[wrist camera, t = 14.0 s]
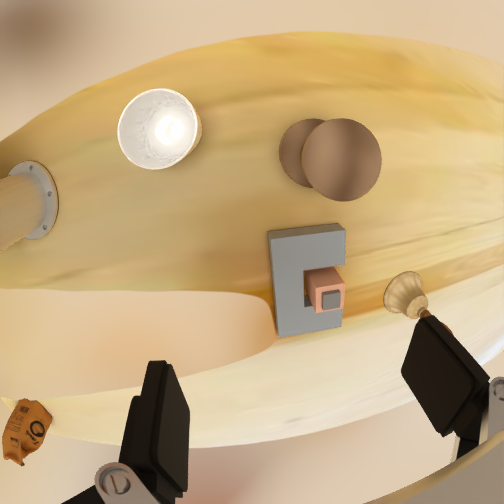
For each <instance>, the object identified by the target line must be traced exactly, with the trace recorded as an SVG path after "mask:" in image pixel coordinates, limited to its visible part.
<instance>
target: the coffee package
mask: <svg viewBox="0 0 504 504" xmlns="http://www.w3.org/2000/svg"><path fill="white" fill-rule="evenodd" d="M51 422H52V416H51V415H50V414H49V413H48V412H47V410H45V409H44V407H43V406H42V405H41V404H40V403H39V402H38V401H29V400H28V399H22V400H19V402H18V404H17V405H16V407H15V409H14V411H13V412H12V414H11V416H10V418H9V420H8V422H7V424H6V427H5V430H4V433H3V437H2V438H3V439H2V444H3V455H4V459H7V460H8V459H11V460H13V461H14V462H16V463H17V464H19V465H21V466H24V463H23V462H22V459H23V458H25V457H26V456H27V455H28V454H30V453H32V452H34V451H36V450H37V449H38V448H39V447H40V446H41V444H42V443H43V440H44V438H45V435H46V432H47V430H48V428H49V426H50V424H51Z"/></svg>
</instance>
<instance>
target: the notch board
mask: <svg viewBox="0 0 504 504" xmlns="http://www.w3.org/2000/svg"><path fill="white" fill-rule="evenodd" d="M345 238H346V230H345V229H344V228H343V227H342V226H340V225H339V224H338V223H336V224H327V225H318V226H310V227H301V228H293V229H285V230H277V231H269V232H268V240H269V250H270V261H271V272H272V283H273V294H274V305H275V317H276V327H277V331H278V336H279V338H280V337H287V336H293V335H299V334H305V333H311V332H317V331H322V330H328V329H333V328H338V327H341V324H342V311H343V308H341V309H336V310H331V311H325V312H320V313H316V312H315V310H314V308H313V306H312V303H311V301H310V299H309V297H308V295H307V296H304V279H303V270H310V269H317V268H324V267H331V266H338V265H344V264H345Z"/></svg>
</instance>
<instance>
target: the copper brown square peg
mask: <svg viewBox="0 0 504 504" xmlns="http://www.w3.org/2000/svg"><path fill="white" fill-rule="evenodd" d="M305 280H306V292H307V294H308V297H309V299H310V301H311V303H312V306H313V308H314V310H315V312H316V313H320V312H325V311H331V310H336V309H341V308H344V291H345V282H344V281H343V280H342V278H341V277H340V275H339V274H338V273H337V271H336V270H335V268H334V267H333V266H331V267H324V268H317V269H310V270H305Z"/></svg>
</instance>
